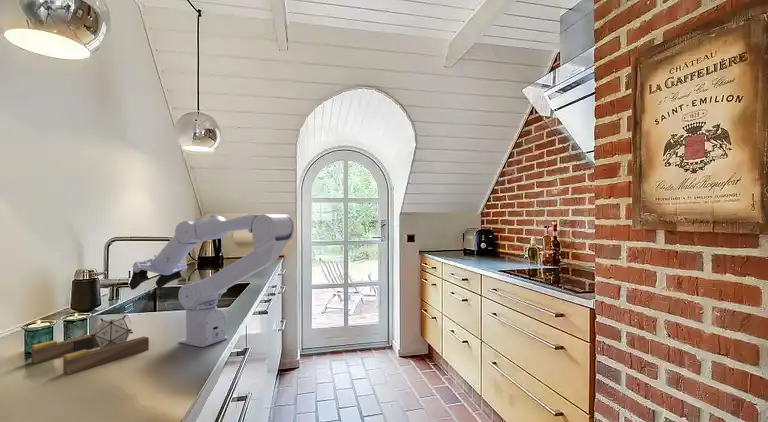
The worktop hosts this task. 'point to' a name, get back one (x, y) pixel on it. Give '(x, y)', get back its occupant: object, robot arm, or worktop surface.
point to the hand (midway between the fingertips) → (144, 286)
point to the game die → (111, 332)
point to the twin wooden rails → (86, 352)
